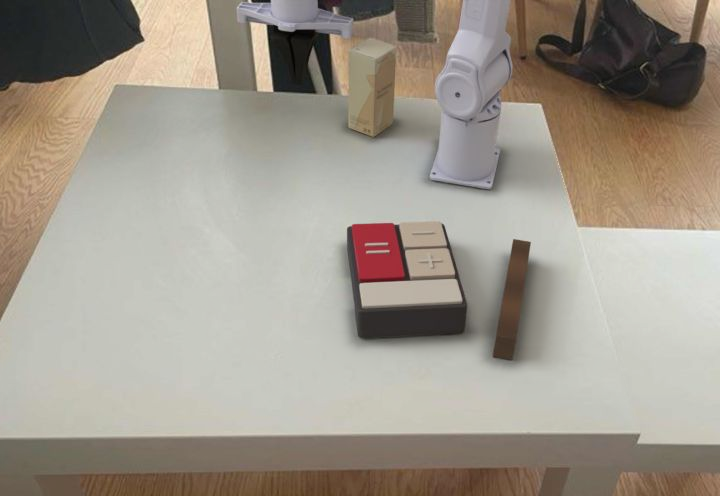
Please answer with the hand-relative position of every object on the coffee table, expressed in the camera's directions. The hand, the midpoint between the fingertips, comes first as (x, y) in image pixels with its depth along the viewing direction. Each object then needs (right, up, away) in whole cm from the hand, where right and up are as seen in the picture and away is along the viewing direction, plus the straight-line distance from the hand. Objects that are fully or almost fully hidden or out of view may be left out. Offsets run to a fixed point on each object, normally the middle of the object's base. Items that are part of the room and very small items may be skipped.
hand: (298, 81), depth 109 cm
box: (+9, -5, +3) cm, 11 cm away
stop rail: (+27, -31, -21) cm, 46 cm away
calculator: (+15, -29, -20) cm, 39 cm away
